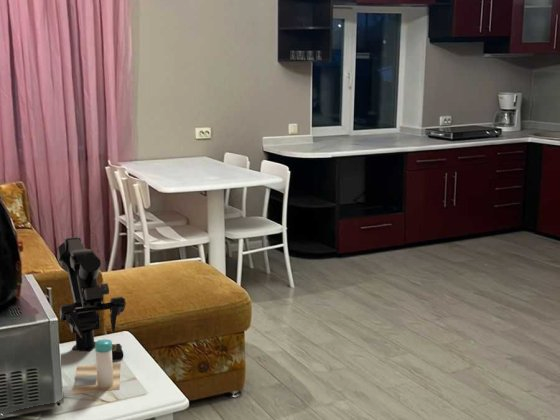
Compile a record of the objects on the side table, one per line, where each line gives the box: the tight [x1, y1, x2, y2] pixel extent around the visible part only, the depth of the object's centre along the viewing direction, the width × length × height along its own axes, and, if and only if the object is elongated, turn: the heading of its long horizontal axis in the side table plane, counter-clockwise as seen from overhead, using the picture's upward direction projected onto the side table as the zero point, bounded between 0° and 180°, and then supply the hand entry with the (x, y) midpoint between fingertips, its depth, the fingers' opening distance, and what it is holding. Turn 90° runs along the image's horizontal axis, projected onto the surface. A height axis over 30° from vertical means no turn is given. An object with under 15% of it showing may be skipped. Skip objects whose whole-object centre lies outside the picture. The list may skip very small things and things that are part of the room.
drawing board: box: [71, 362, 122, 395], centre depth 200 cm, size 18×13×1 cm
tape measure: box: [112, 343, 125, 361], centre depth 215 cm, size 7×7×4 cm
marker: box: [94, 338, 113, 388], centre depth 195 cm, size 5×5×13 cm
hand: (98, 334), depth 200 cm, fingers open, 9 cm apart
